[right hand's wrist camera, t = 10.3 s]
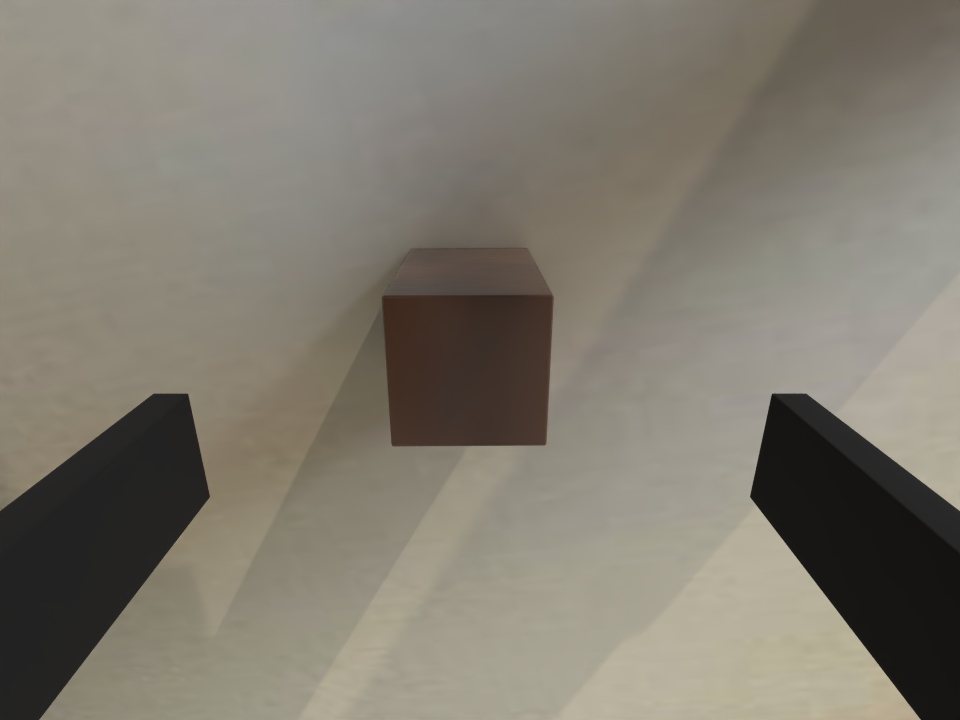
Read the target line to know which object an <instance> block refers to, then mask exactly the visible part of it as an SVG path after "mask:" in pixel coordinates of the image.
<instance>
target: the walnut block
mask: <svg viewBox="0 0 960 720" xmlns="http://www.w3.org/2000/svg"><path fill="white" fill-rule="evenodd" d="M553 300H554V297H553V294H552V293H551V291H550V289H549V287H548V285H547V283H546V282H545V280H544V278H543V276H542V274H541V272H540V271H539V269H538V267H537V265H536V263H535V261H534V260H533V258H532V256H531V254H530V252H529V250H528V249H527V248H442V249H411V250H410V251H409V253H408V255H407V256H406V258H405V259H404V261H403V263H402V264H401V266H400V268H399V269H398V271H397V273H396V274H395V276H394V278H393V279H392V281H391V283H390V284H389V286H388V288H387V289H386V291H385V293H384V294H383V296H382V307H383V322H384V337H385V352H386V367H387V382H388V397H389V413H390V428H391V443H392V446H515V445H546V441H547V421H548V401H549V380H550V360H551V340H552V320H553Z"/></svg>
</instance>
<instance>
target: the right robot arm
mask: <svg viewBox="0 0 960 720" xmlns="http://www.w3.org/2000/svg"><path fill="white" fill-rule="evenodd" d="M209 497H210V495H209V490H208V486H207V481H206V476H205V472H204V467H203V462H202V457H201V453H200V448H199V443H198V439H197V434H196V429H195V425H194V420H193V415H192V410H191V406H190V401H189V396H188V394H153V395H152V396H150V397H149V398H148V399H146V400H145V401H144V402H142V403H141V404H140V405H138V406H137V407H136V408H135V409H133V410H132V411H131V412H129V413H128V414H127V415H125V416H124V417H123V418H121V419H120V420H119V421H118V422H116V423H115V424H114V425H112V426H111V427H110V428H108V429H107V430H106V431H104V432H103V433H102V434H101V435H99V436H98V437H97V438H95V439H94V440H93V441H91V442H90V443H89V444H87V445H86V446H85V447H84V448H82V449H81V450H80V451H78V452H77V453H76V454H74V455H73V456H72V457H70V458H69V459H68V460H67V461H65V462H64V463H63V464H61V465H60V466H59V467H57V468H56V469H55V470H53V471H52V472H51V473H50V474H48V475H47V476H46V477H44V478H43V479H42V480H40V481H39V482H38V483H36V484H35V485H34V486H33V487H31V488H30V489H29V490H27V491H26V492H25V493H23V494H22V495H21V496H19V497H18V498H17V499H16V500H14V501H13V502H12V503H10V504H9V505H8V506H6V507H5V508H4V509H2V510H1V511H0V720H39V719H40V718H41V717H42V715H43V714H44V713H45V711H46V710H47V709H48V707H49V706H50V705H51V704H52V702H53V701H54V700H55V698H56V697H57V696H58V694H59V693H60V692H61V691H62V689H63V688H64V687H65V685H66V684H67V683H68V681H69V680H70V679H71V677H72V676H73V675H74V674H75V672H76V671H77V670H78V668H79V667H80V666H81V664H82V663H83V662H84V660H85V659H86V658H87V657H88V655H89V654H90V653H91V651H92V650H93V649H94V647H95V646H96V645H97V644H98V642H99V641H100V640H101V638H102V637H103V636H104V634H105V633H106V632H107V630H108V629H109V628H110V627H111V625H112V624H113V623H114V621H115V620H116V619H117V617H118V616H119V615H120V614H121V612H122V611H123V610H124V608H125V607H126V606H127V604H128V603H129V602H130V600H131V599H132V598H133V597H134V595H135V594H136V593H137V591H138V590H139V589H140V587H141V586H142V585H143V583H144V582H145V581H146V580H147V578H148V577H149V576H150V574H151V573H152V572H153V570H154V569H155V568H156V567H157V565H158V564H159V563H160V561H161V560H162V559H163V557H164V556H165V555H166V553H167V552H168V551H169V550H170V548H171V547H172V546H173V544H174V543H175V542H176V540H177V539H178V538H179V537H180V535H181V534H182V533H183V531H184V530H185V529H186V527H187V526H188V525H189V523H190V522H191V521H192V520H193V518H194V517H195V516H196V514H197V513H198V512H199V510H200V509H201V508H202V507H203V505H204V504H205V503H206V501H207V500H208V499H209ZM750 497H751V499H752V500H753V501H754V503H755V504H756V505H757V507H758V508H759V509H760V510H761V512H762V513H763V514H764V516H765V517H766V518H767V520H768V521H769V522H770V523H771V525H772V526H773V527H774V529H775V530H776V531H777V533H778V534H779V535H780V537H781V538H782V539H783V540H784V542H785V543H786V544H787V546H788V547H789V548H790V550H791V551H792V552H793V553H794V555H795V556H796V557H797V559H798V560H799V561H800V563H801V564H802V565H803V567H804V568H805V569H806V570H807V572H808V573H809V574H810V576H811V577H812V578H813V580H814V581H815V582H816V583H817V585H818V586H819V587H820V589H821V590H822V591H823V593H824V594H825V595H826V597H827V598H828V599H829V600H830V602H831V603H832V604H833V606H834V607H835V608H836V610H837V611H838V612H839V614H840V615H841V616H842V617H843V619H844V620H845V621H846V623H847V624H848V625H849V627H850V628H851V629H852V630H853V632H854V633H855V634H856V636H857V637H858V638H859V640H860V641H861V642H862V644H863V645H864V646H865V647H866V649H867V650H868V651H869V653H870V654H871V655H872V657H873V658H874V659H875V660H876V662H877V663H878V664H879V666H880V667H881V668H882V670H883V671H884V672H885V674H886V675H887V676H888V677H889V679H890V680H891V681H892V683H893V684H894V685H895V687H896V688H897V689H898V691H899V692H900V693H901V694H902V696H903V697H904V698H905V700H906V701H907V702H908V704H909V705H910V706H911V707H912V709H913V710H914V711H915V713H916V714H917V715H918V717H919V718H920V719H921V720H960V511H959V510H958V509H956V508H955V507H954V506H952V505H951V504H950V503H948V502H947V501H946V500H944V499H943V498H942V497H941V496H939V495H938V494H937V493H935V492H934V491H933V490H931V489H930V488H929V487H927V486H926V485H925V484H924V483H922V482H921V481H920V480H918V479H917V478H916V477H914V476H913V475H912V474H910V473H909V472H908V471H907V470H905V469H904V468H903V467H901V466H900V465H899V464H897V463H896V462H895V461H893V460H892V459H891V458H890V457H888V456H887V455H886V454H884V453H883V452H882V451H880V450H879V449H878V448H876V447H875V446H874V445H873V444H871V443H870V442H869V441H867V440H866V439H865V438H863V437H862V436H861V435H859V434H858V433H857V432H856V431H854V430H853V429H852V428H850V427H849V426H848V425H846V424H845V423H844V422H842V421H841V420H840V419H839V418H837V417H836V416H835V415H833V414H832V413H831V412H829V411H828V410H827V409H825V408H824V407H823V406H822V405H820V404H819V403H818V402H816V401H815V400H814V399H812V398H811V397H810V396H808V395H807V394H772V396H771V401H770V406H769V410H768V415H767V420H766V425H765V429H764V434H763V439H762V443H761V448H760V453H759V457H758V462H757V467H756V472H755V476H754V481H753V486H752V490H751V495H750Z"/></svg>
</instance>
